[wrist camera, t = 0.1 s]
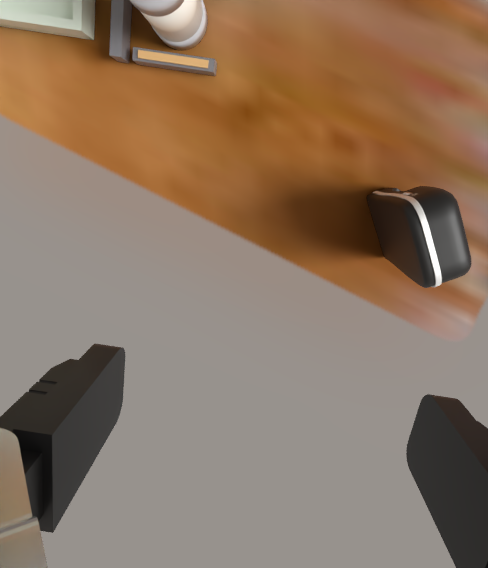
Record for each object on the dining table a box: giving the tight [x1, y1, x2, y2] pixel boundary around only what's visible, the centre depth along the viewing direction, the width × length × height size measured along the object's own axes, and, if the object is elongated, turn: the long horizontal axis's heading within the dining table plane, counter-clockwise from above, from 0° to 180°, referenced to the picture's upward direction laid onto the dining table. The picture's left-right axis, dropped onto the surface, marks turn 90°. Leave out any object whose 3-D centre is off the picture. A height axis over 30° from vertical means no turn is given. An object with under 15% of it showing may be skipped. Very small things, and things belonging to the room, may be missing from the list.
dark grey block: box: [367, 186, 471, 288], centre depth 32 cm, size 7×4×11 cm, turn 21°
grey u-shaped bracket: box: [109, 0, 217, 76], centre depth 33 cm, size 8×9×2 cm
